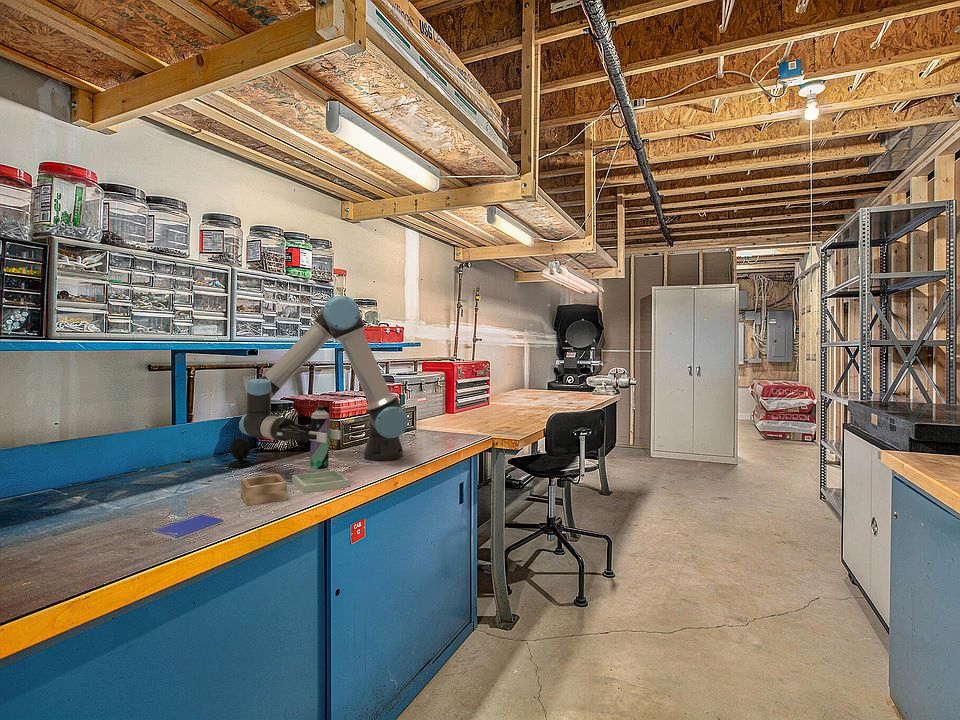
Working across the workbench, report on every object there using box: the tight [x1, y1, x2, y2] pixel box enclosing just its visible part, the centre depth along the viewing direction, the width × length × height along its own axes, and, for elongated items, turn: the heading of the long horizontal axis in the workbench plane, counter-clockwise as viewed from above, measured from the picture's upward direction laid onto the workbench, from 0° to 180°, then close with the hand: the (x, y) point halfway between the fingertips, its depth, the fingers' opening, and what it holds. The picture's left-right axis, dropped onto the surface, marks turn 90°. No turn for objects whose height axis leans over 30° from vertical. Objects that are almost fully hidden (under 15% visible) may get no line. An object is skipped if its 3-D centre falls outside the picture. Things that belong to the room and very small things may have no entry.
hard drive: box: [151, 514, 225, 541], centre depth 120 cm, size 2×8×12 cm
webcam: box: [227, 437, 253, 469], centre depth 179 cm, size 8×8×10 cm
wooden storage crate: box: [240, 473, 288, 507], centre depth 144 cm, size 10×10×5 cm
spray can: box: [309, 405, 330, 472], centre depth 159 cm, size 6×6×20 cm
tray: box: [291, 469, 351, 494], centre depth 159 cm, size 14×14×2 cm
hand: (332, 436), depth 156 cm, fingers closed on spray can, 5 cm apart
